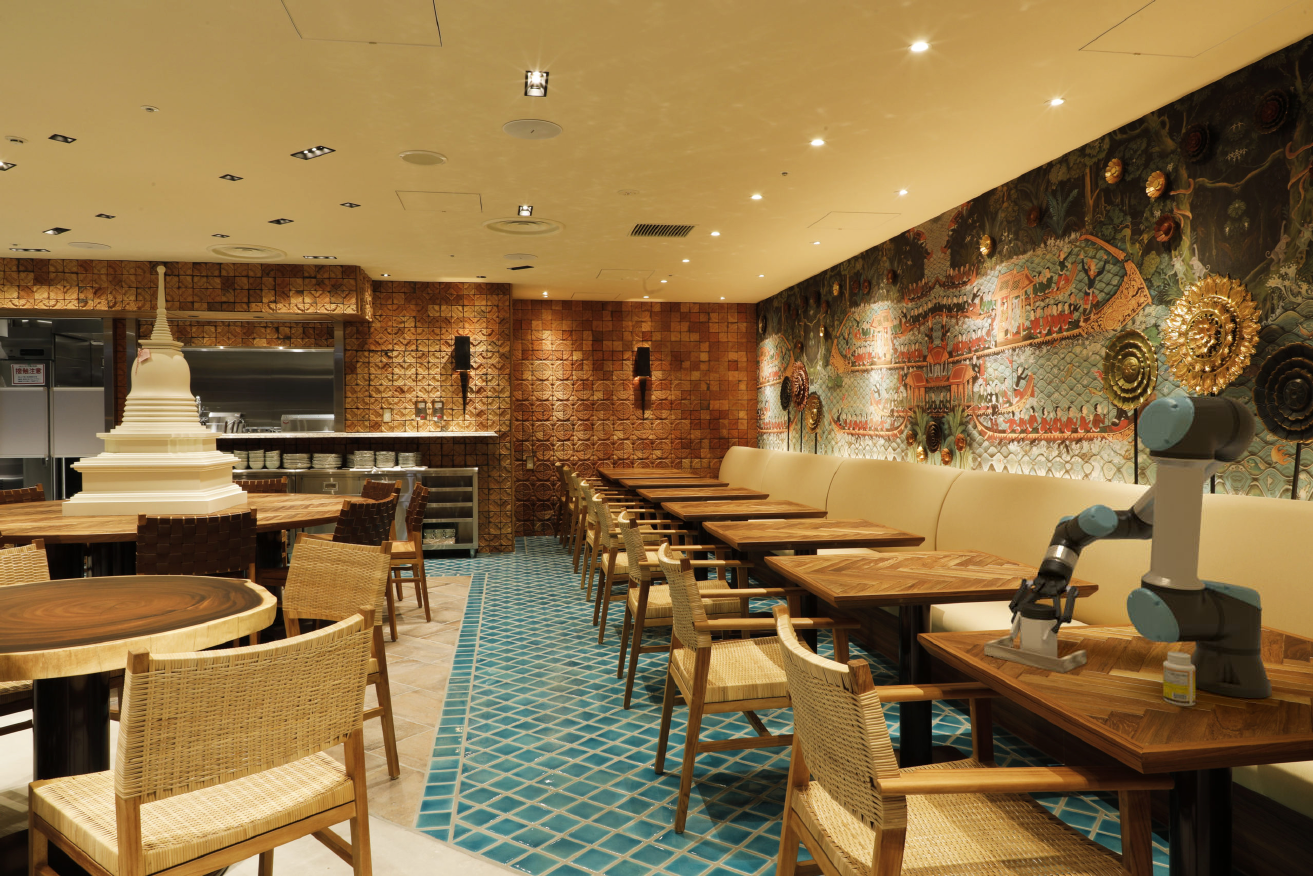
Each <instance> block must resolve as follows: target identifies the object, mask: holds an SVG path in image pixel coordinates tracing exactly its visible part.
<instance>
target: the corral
mask: <svg viewBox="0 0 1313 876" xmlns="http://www.w3.org/2000/svg"><path fill="white" fill-rule="evenodd" d="M1014 640H1015V639H1013V638H1012V636H1011V634H1008V635H1005V636H1002V637H999V638H997V639H993V640H989V641H986V642H984V646H983V647H984V651H983V652H984V653H983V654H984V656H987V655H988V657H991V656H993V657H992V658H996V659H1000V660H1005V661H1009V662H1013V663H1017V664H1022V665H1026V666H1030V667H1034V668H1039V669H1043V670H1048V671H1052V672H1056V673H1061V674H1064V673H1067V672H1069V671H1071V670H1073V669H1075V668H1078V667H1080V666H1082V665H1084V664H1086V663H1087V650H1086V649H1081V650H1078V651H1075V652H1073V653H1071V654H1068V655H1066V656H1064V657H1061V658H1058V657H1057V658H1054V657H1050V656H1045V655H1041V654H1036V653H1032V652H1027V651H1022V650H1020V649H1016V648H1014ZM1011 647H1012V648H1011Z"/></svg>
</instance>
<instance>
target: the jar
mask: <svg viewBox="0 0 1313 876" xmlns="http://www.w3.org/2000/svg"><path fill="white" fill-rule="evenodd" d="M1055 615H1056V608H1055V607H1054V606H1053V605H1050V604H1045V603H1038V602H1035V603H1024V604H1021V605H1020V630H1019V650H1022V651H1027V652H1032V653H1036V654H1041V655H1045V656H1050V657H1054V658H1058V633H1057V634H1055V633H1053V632H1052V631H1051V642H1050V645H1049V646H1047V645H1046V644H1045V643H1044V641H1043V639H1042V638H1043V636H1044V633H1045V632H1046V631H1047V629H1048V628H1049V627H1050V626H1051V629H1052V628H1053V627H1054V626H1055V625H1056V624H1057V620H1056V618H1055Z"/></svg>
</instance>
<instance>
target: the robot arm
mask: <svg viewBox="0 0 1313 876" xmlns="http://www.w3.org/2000/svg"><path fill="white" fill-rule="evenodd" d="M1256 434H1257V421H1256V417H1255V416H1254V413H1253V412H1252V410H1251V409H1250V408H1249V407H1248V406H1247V405H1246V404H1244V403H1243V402H1242V401H1240V400H1238V399H1235V398H1231V397H1227V396H1186V395H1185V396H1183V395H1178V396H1177V395H1176V396H1175V395H1174V396H1164V397H1159V398H1157V399H1155V400H1153V401H1151V402H1150V403H1149V404H1148V406H1146V407H1145V408H1144V409H1143V411H1142V412H1141V414H1140V416H1139V419H1138V423H1137V436H1138V438H1139V439H1140V443H1141V444H1142V445H1143V446H1144V447H1145V448H1146V449H1148V450H1149V454H1148V455H1149V456H1148V457H1149V458H1150V459H1151V460H1152V461H1153V462H1154V463H1155V465H1156V469H1155V470H1156V471H1155V482H1154V483H1153V484H1152V485H1151V486H1150V487H1149V488H1148V489H1147V490H1146V491H1145V492H1144V493H1143V494H1142V496H1140V498H1138V500H1137V501H1135V503H1134V504H1133V505H1132V506H1131V507H1130V508H1129V509H1126V510H1125V509H1119V510H1117V509H1116V510H1115V509H1112V508H1111V507H1108V506H1106V505H1104V504H1094V505H1092V506H1090V507H1087V508H1086V509H1083V511H1082V512H1080V513H1078V514H1077V515H1066V516H1063V517H1060V520H1059V521H1058V523H1057V525H1056V526H1055V528H1054V532H1053V535H1052V538H1051V540H1050V542H1049V545H1048V547H1047V549H1046V552H1045V554H1044V557H1043V559H1042V562H1041V564H1040V566H1039V569H1038V571H1037V575H1036V577H1035V578H1034V579H1032V580H1027V578H1022V579H1021V583H1020V586H1019V588H1018V589H1017V591H1016V593H1015V594H1014V596H1013V598H1012V599H1011V601H1010V603H1009V604H1008V608H1009V610H1010V612H1011V613H1012V614H1013V615H1012V617H1011V619H1010V622H1011V627H1010V630H1009V633H1010V634H1009V635H1011V636H1012V638H1013V639H1014V640H1017V638H1018V636H1019V634H1020V605H1021V604H1024V603H1037V601H1040V600H1041V599H1042V598H1048V599H1052V606H1054V607H1055V608H1056V615H1055V618H1056V620H1057V624H1056V625H1055V626H1054V627H1053V628H1052V629H1051V626H1050V627H1049V628H1048V629H1047V631H1046V632H1045V633H1044V636H1043V638H1042V639H1043V641H1044V643H1045V644H1046V645H1047V646H1049V645H1050V642H1051V631H1052V632H1053V633H1055V634H1057V635H1058V633H1059V631H1060V628H1061V626H1062V624H1071V623H1072V621H1073V615H1074V610H1075V609H1074V608H1075V604H1076V599H1077V598H1078V597H1079V595H1080V592H1079V589H1078V587H1077V586H1076V585H1071V586H1070V585H1069V584H1070V582H1071V579H1072V577H1073V573H1074V571H1075V569H1076V566H1077V564H1078V561H1079V559H1080V556H1081V553H1082V550H1084V548H1086V547H1088V546H1089V545H1091V544H1093V543H1094V542H1096V541H1100V540H1102V541H1104V540H1108V541H1109V540H1111V541H1112V540H1113V541H1114V540H1116V541H1117V540H1141V541H1142V540H1143V541H1148V540H1151V547H1150V549H1151V551H1150V566H1149V570H1148V571H1147V572H1146V573H1144V574H1143V575H1142V576H1141V579H1140V587H1138V588H1135V589H1133V590H1131V592H1130V593H1129V594H1128V596H1127V598H1126V611H1127V615H1128V617H1129V618H1128V619H1129V621H1130V622H1131V624H1132V625H1133V627H1134V628H1135V630H1136V631H1137V632H1138V634H1140V636H1142V637H1143V638H1145V639H1146V640H1149V641H1152V642H1155V643H1166V644H1175V643H1195V644H1194V646H1195V648H1194V650H1193V653H1192V655H1191V664H1193V665H1194V666H1195V689H1200V690H1202V691H1205V692H1210V693H1214V694H1217V695H1223V696H1228V697H1233V698H1241V699H1242V698H1245V699H1263V698H1268V697H1269V698H1270V697H1271V695H1272V683H1271V680H1270V679H1268V675H1267V672H1266V668H1265V665H1264V663H1263V660H1262V649H1261V648H1262V611H1263V607H1262V604H1261V595H1260V593H1259V592H1258V590H1256V589H1254V588H1251V587H1246V586H1242V585H1237V584H1232V583H1225V582H1220V581H1214V580H1209V579H1207V580H1206V579H1200V578H1199V577H1198V568H1199V555H1200V553H1199V552H1200V542H1201V541H1200V540H1201V537H1200V536H1201V525H1202V513H1203V509H1202V508H1203V499H1204V498H1203V497H1204V495H1203V494H1204V485H1205V483H1206V482H1207V481H1208V480H1209V479H1210V478H1212V477H1213V476H1214V475H1215V474H1216V473H1217V472H1218V471H1219V470H1220V469H1221V468H1223V466H1224V465H1225V464H1231V463H1232V464H1233V463H1235V462H1236V461H1237V460H1238V459H1239V458H1240V457H1242V455H1244V454H1245V453H1246V451H1247V450H1248V449H1249V448H1250V447H1251V445H1252V443H1253V442H1254V441H1255V438H1256ZM1033 586H1034V587H1033ZM1032 587H1033V588H1032ZM1029 590H1030V593H1029ZM1028 593H1029V594H1028ZM1065 593H1067V594H1066V599H1065V603H1064V609H1063V612H1062V605H1061V602H1062V601H1061V595H1063V594H1065Z"/></svg>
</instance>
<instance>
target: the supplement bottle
mask: <svg viewBox="0 0 1313 876" xmlns="http://www.w3.org/2000/svg"><path fill="white" fill-rule="evenodd" d="M1166 657H1167V659H1166V660H1165V661H1163V664H1162V669H1163V670H1162V676H1163V677H1162V679H1163V680H1162V683H1163V684H1162V686H1163V687H1162V689H1163V692H1162V694H1163V699H1164V701H1165V702H1167V703H1168V704H1172V705H1174V706H1179V707H1180V706H1181V707H1192V706H1194V705H1196V703H1197V702H1196V700H1197V699H1196V687H1195V666H1194V665H1193V664H1191V658H1192V655H1190V654H1188V653H1186V652H1182V651H1175V650H1174V651H1168V652H1167V656H1166Z"/></svg>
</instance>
